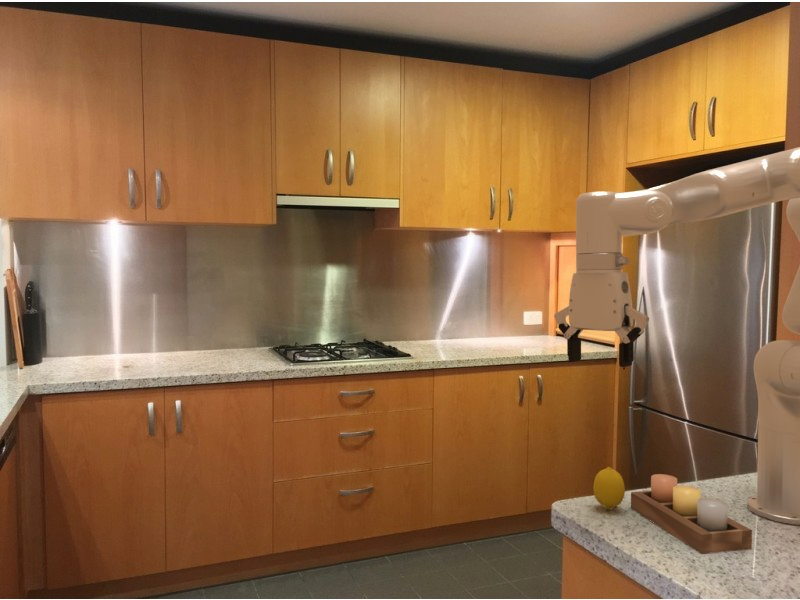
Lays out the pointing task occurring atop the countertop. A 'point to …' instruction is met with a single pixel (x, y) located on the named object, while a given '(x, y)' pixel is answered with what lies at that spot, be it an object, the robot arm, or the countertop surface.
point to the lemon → (609, 488)
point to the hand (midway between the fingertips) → (599, 363)
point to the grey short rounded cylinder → (712, 514)
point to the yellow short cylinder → (685, 500)
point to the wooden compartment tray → (691, 526)
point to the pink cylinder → (662, 487)
